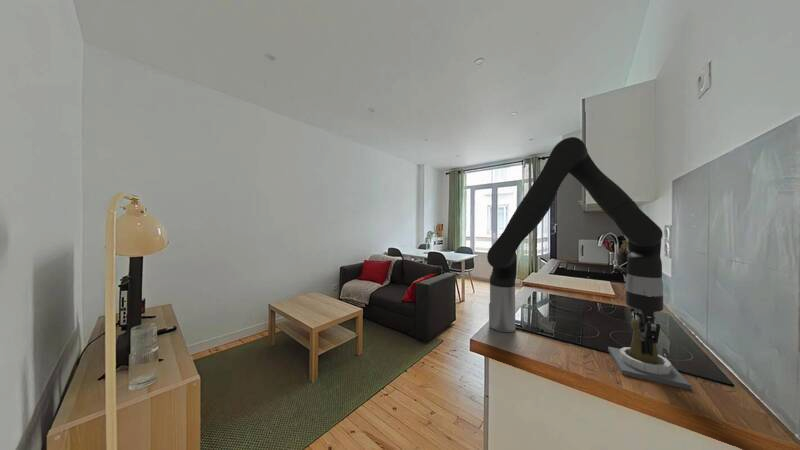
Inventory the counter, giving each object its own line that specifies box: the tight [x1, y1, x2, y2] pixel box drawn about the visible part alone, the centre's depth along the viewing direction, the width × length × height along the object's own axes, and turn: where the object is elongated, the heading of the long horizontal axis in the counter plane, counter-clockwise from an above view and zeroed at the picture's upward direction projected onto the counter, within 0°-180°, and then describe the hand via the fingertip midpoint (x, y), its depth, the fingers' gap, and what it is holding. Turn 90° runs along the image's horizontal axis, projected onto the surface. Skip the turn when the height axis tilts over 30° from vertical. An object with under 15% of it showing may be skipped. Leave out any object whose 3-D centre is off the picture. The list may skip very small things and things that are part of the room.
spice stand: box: [607, 346, 692, 391], centre depth 69 cm, size 13×14×3 cm
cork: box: [629, 319, 659, 365], centre depth 69 cm, size 6×6×11 cm
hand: (643, 350), depth 69 cm, fingers closed on cork, 4 cm apart
